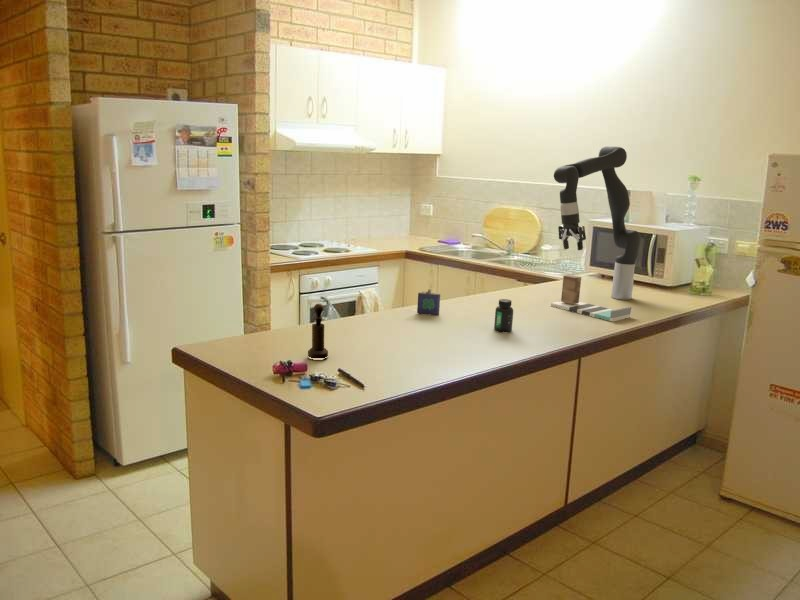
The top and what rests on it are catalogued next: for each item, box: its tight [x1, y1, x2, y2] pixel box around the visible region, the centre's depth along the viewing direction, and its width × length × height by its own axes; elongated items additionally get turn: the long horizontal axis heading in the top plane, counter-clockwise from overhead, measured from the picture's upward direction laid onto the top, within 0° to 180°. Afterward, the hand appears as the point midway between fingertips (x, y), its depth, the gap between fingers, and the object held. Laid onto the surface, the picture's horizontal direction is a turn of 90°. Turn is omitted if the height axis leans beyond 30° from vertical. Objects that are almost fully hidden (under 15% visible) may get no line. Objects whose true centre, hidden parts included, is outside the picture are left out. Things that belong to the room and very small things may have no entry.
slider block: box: [560, 274, 582, 304], centre depth 310 cm, size 5×6×12 cm
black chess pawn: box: [307, 303, 329, 358], centre depth 221 cm, size 7×6×18 cm
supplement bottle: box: [493, 298, 514, 333], centre depth 265 cm, size 7×7×12 cm
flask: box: [416, 288, 441, 316], centre depth 285 cm, size 9×3×11 cm, turn 87°
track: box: [550, 300, 632, 322], centre depth 304 cm, size 14×32×4 cm, turn 41°
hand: (573, 249), depth 302 cm, fingers open, 8 cm apart
